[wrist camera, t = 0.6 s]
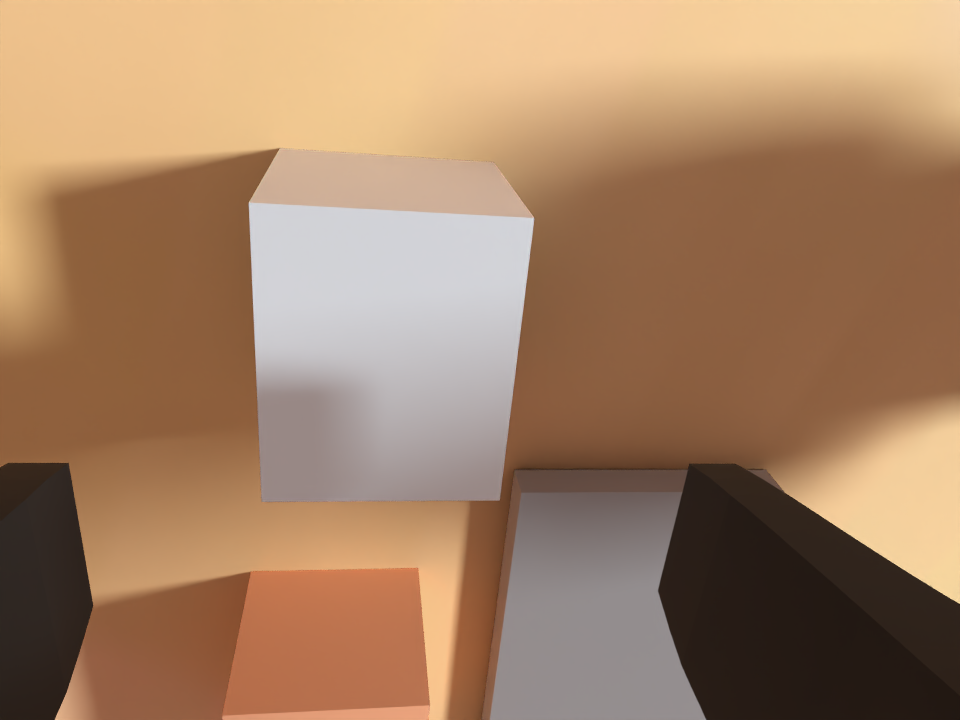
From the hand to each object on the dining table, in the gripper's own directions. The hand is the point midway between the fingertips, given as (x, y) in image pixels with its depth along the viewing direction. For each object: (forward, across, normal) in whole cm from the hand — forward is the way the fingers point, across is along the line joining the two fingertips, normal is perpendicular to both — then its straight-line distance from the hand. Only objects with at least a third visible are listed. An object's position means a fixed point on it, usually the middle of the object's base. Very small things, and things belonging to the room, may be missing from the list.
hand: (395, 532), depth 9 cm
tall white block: (+9, 0, 0) cm, 9 cm away
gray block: (+9, -7, +12) cm, 16 cm away
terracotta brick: (+9, +1, +11) cm, 14 cm away
